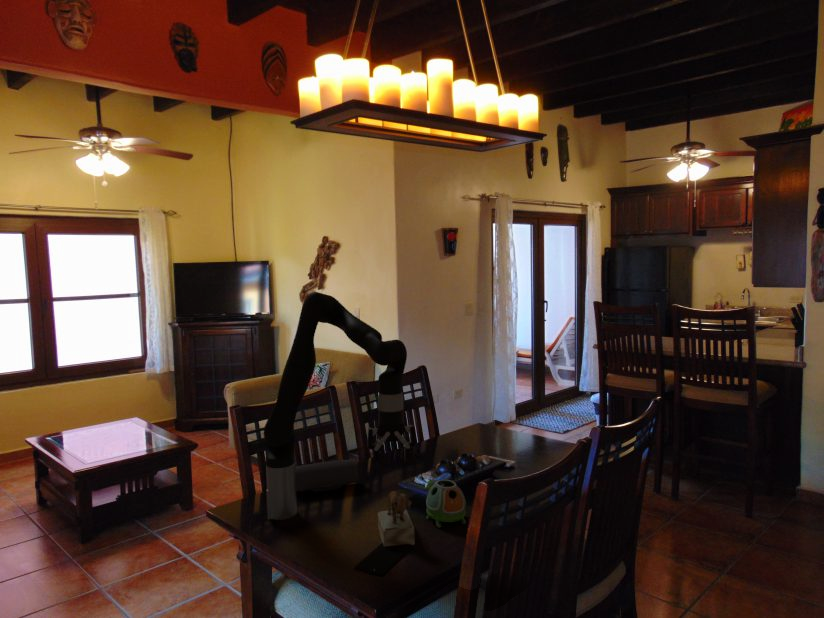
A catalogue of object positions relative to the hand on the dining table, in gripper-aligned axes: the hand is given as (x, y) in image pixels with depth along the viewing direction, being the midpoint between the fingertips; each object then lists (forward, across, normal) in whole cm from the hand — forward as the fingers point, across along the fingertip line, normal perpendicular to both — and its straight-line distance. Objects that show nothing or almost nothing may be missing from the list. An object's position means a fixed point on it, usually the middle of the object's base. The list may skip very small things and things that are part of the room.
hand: (391, 461), depth 174 cm
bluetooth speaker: (+24, -19, +42) cm, 52 cm away
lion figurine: (+18, +2, 0) cm, 18 cm away
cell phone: (+24, -4, -12) cm, 27 cm away
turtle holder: (+23, +18, +9) cm, 30 cm away
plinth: (+23, +1, -1) cm, 23 cm away
